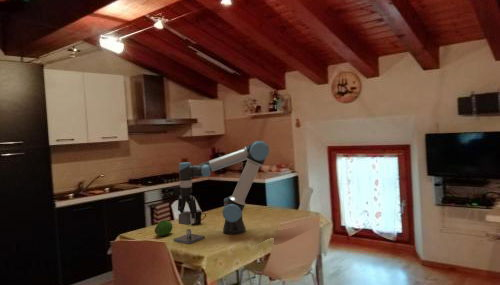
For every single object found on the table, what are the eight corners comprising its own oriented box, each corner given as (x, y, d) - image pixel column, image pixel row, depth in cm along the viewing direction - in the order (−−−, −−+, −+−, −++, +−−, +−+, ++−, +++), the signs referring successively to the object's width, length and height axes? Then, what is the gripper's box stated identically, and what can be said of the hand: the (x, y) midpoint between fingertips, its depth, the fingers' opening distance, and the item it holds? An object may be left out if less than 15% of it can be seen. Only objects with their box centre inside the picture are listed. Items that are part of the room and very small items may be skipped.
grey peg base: (189, 235, 251) (189, 225, 250) (204, 238, 242) (204, 228, 242) (173, 241, 239) (172, 231, 239) (188, 244, 231) (188, 233, 231)
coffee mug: (188, 224, 281) (187, 211, 280) (197, 222, 287) (196, 209, 287) (198, 226, 273) (197, 213, 272) (207, 224, 279) (206, 210, 279)
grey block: (178, 223, 239) (178, 212, 239) (187, 221, 245) (187, 210, 245) (187, 225, 235) (186, 213, 235) (195, 222, 241) (195, 211, 241)
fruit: (162, 239, 246) (161, 223, 245) (150, 238, 250) (149, 223, 249) (176, 232, 260) (175, 218, 259) (164, 232, 264) (163, 217, 263)
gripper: (170, 186, 243) (172, 222, 244) (192, 188, 230) (194, 225, 231) (179, 185, 249) (181, 219, 250) (201, 186, 236) (203, 223, 237)
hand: (187, 222), depth 240 cm, fingers closed on grey block, 8 cm apart
